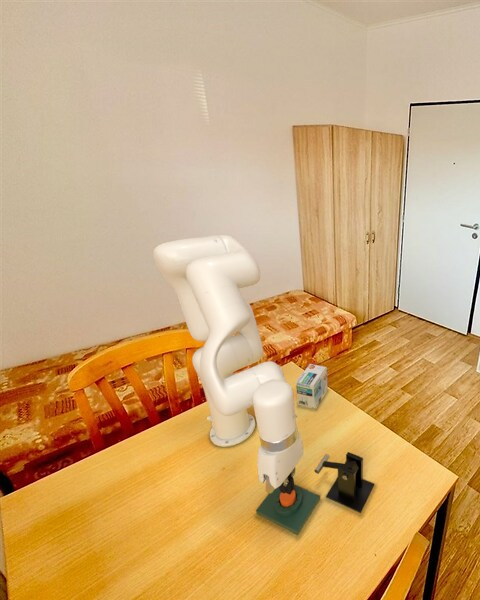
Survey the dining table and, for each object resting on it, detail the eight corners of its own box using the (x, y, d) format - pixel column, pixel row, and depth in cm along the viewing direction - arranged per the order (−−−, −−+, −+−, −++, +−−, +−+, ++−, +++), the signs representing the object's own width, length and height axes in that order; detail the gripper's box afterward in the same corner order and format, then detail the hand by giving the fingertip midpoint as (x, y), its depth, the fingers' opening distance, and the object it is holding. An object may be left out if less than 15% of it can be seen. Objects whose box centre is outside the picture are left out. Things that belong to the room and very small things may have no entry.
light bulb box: (315, 410, 108) (314, 386, 103) (297, 406, 109) (294, 382, 104) (328, 389, 117) (327, 366, 113) (311, 386, 118) (309, 362, 114)
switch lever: (316, 474, 81) (312, 467, 81) (326, 459, 85) (323, 452, 85) (351, 480, 76) (348, 473, 76) (361, 463, 81) (358, 456, 80)
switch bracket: (326, 499, 81) (324, 468, 76) (342, 472, 88) (341, 443, 83) (360, 515, 78) (361, 484, 73) (374, 486, 85) (375, 456, 80)
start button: (277, 503, 76) (276, 498, 75) (287, 490, 79) (286, 485, 78) (289, 509, 75) (288, 504, 74) (299, 495, 78) (298, 491, 77)
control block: (256, 515, 77) (254, 505, 75) (281, 483, 84) (280, 473, 83) (298, 537, 73) (296, 527, 71) (320, 501, 81) (319, 491, 79)
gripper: (287, 405, 75) (294, 458, 83) (237, 456, 62) (250, 513, 70) (314, 415, 73) (318, 469, 80) (268, 470, 60) (278, 527, 68)
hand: (287, 489), depth 75 cm, fingers closed
